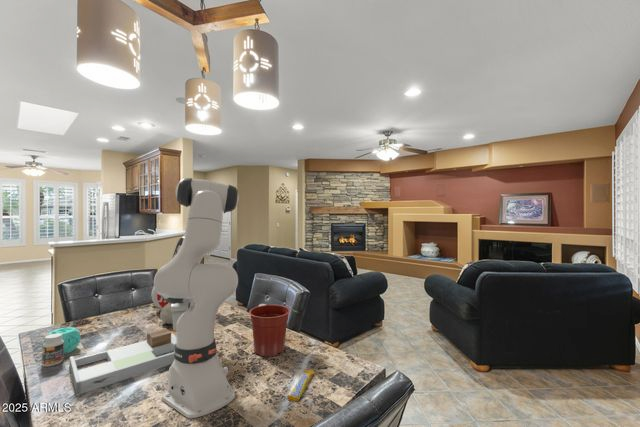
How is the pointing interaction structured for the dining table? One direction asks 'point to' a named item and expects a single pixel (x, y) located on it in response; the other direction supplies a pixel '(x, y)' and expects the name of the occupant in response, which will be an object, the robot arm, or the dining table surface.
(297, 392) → the candy bar
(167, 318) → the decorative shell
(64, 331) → the decorative dice
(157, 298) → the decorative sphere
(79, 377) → the board
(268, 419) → the dining table surface
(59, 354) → the pill bottle
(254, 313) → the flower pot
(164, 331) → the walnut block
